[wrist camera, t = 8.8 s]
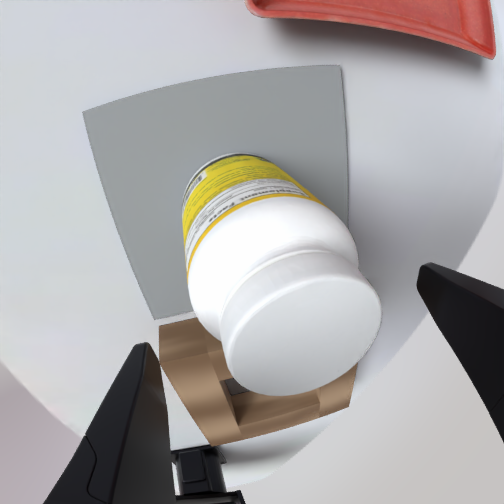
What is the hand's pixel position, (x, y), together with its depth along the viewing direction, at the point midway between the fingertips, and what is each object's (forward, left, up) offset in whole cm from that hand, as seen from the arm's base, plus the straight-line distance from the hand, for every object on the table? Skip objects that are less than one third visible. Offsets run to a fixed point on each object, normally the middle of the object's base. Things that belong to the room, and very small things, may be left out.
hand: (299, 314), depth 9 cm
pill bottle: (0, 0, -10) cm, 10 cm away
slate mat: (0, 0, -10) cm, 10 cm away
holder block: (-15, 0, -10) cm, 18 cm away
